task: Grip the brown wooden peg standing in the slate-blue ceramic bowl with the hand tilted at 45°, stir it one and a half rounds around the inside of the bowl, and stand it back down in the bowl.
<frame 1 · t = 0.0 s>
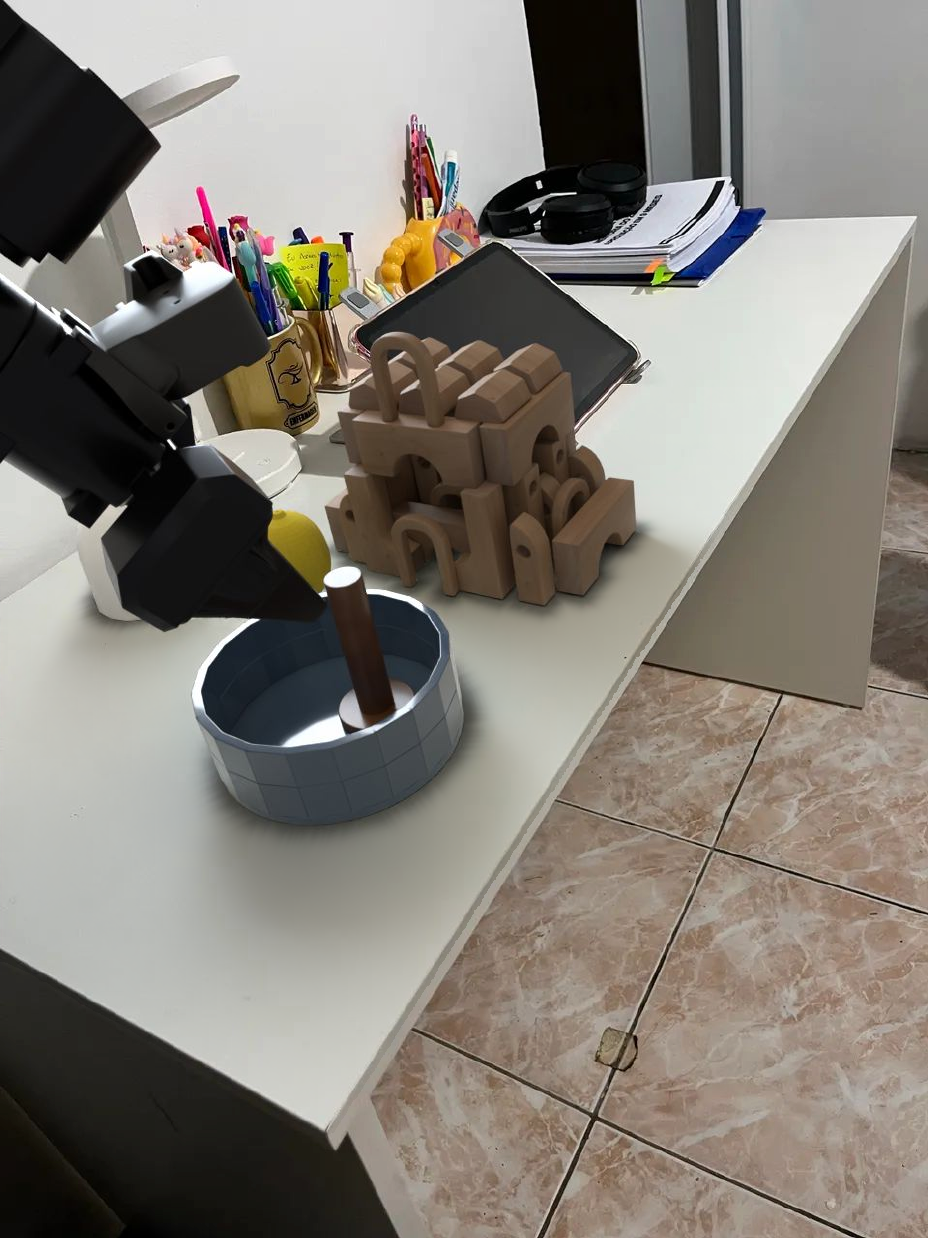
hand: (287, 570, 46), 15 cm above the table, tool tilted 35°, fingers open, 9 cm apart
brown wooden peg: (378, 711, 59), point 1 cm above the table, touching bowl
lemon: (306, 605, 71), on the table
teardrop: (163, 582, 77), on the table
bowl: (342, 731, 59), on the table
wooden puzzle: (480, 544, 75), on the table
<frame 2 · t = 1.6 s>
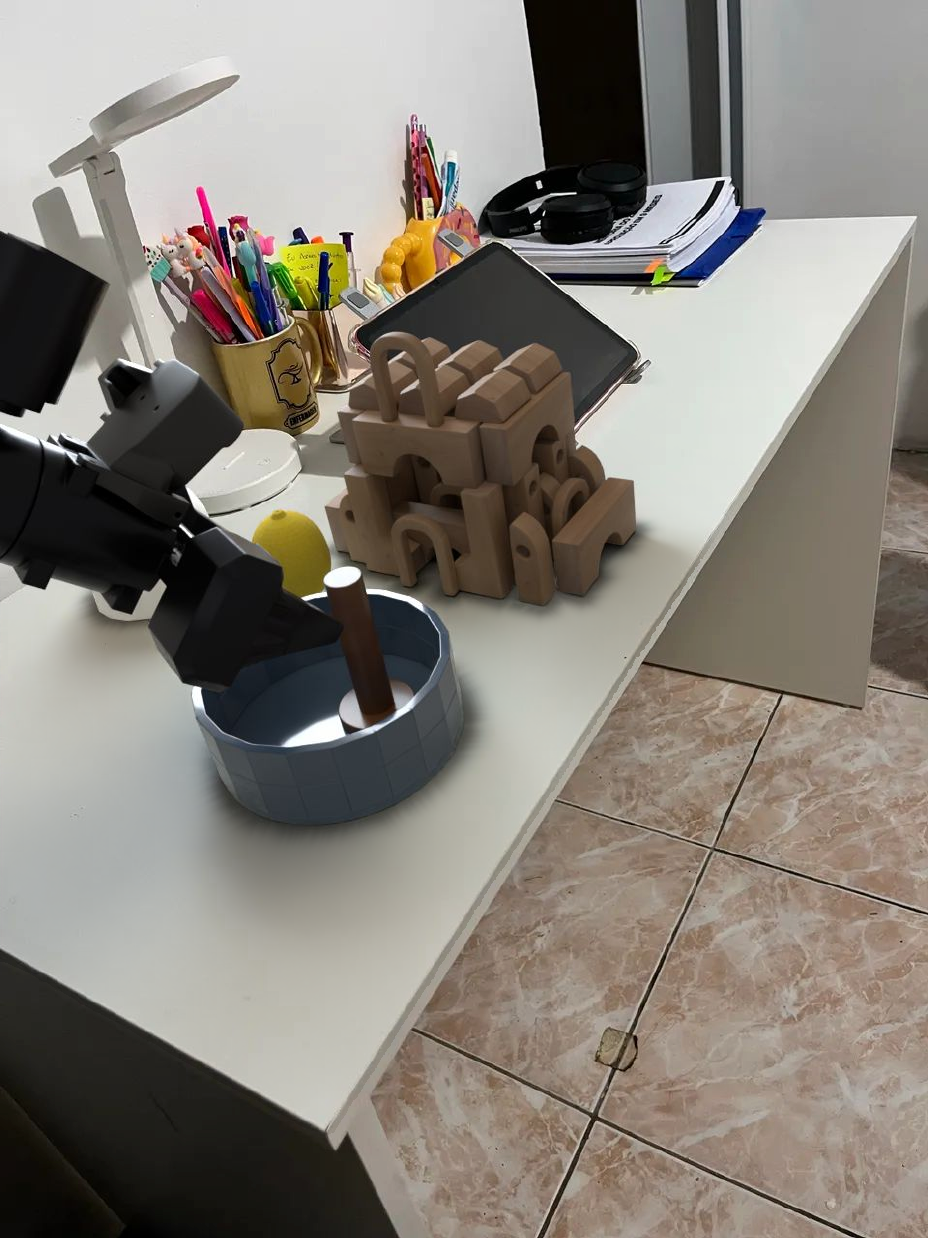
hand: (300, 597, 52), 11 cm above the table, tool tilted 45°, fingers open, 9 cm apart
nothing on the table moved.
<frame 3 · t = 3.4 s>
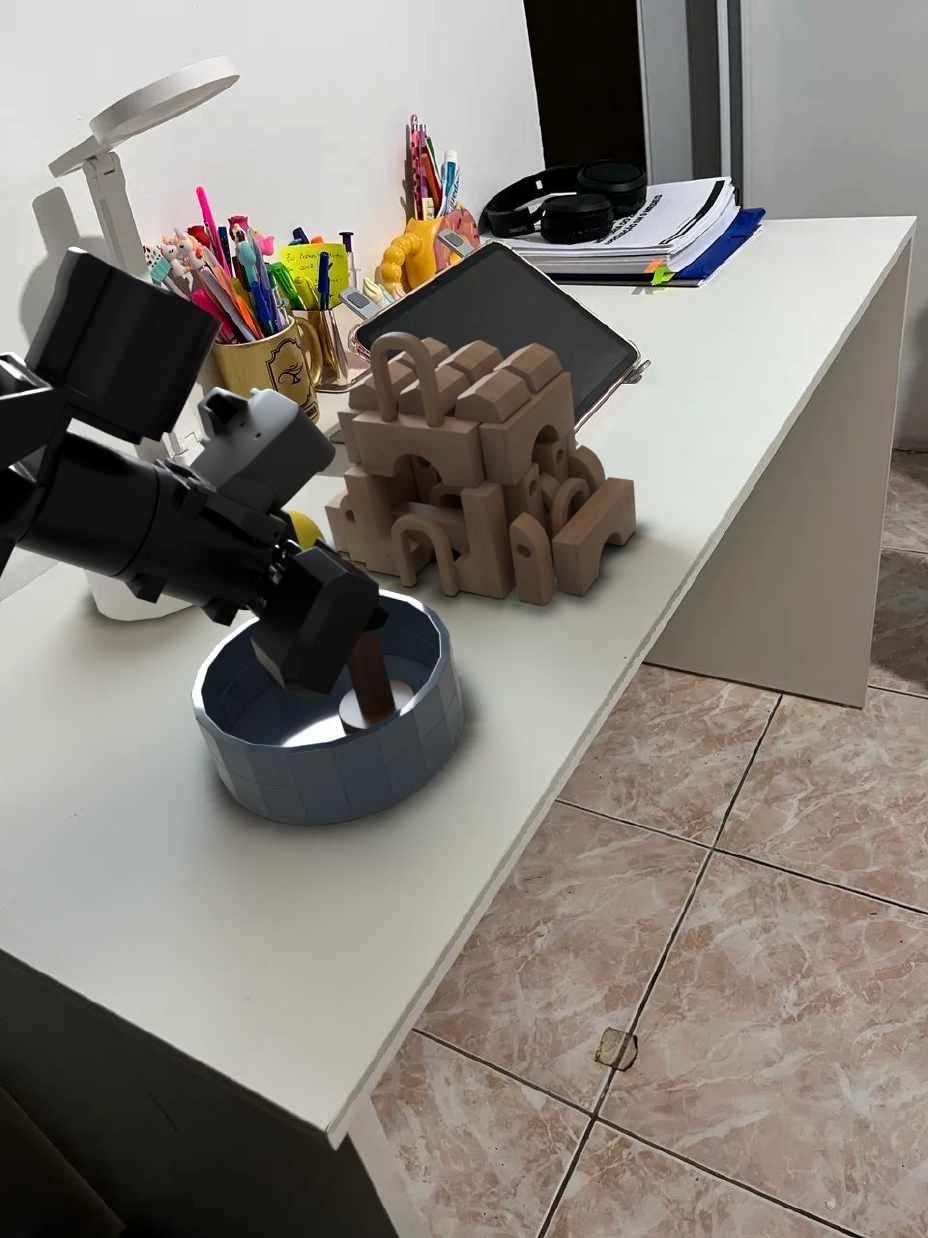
hand: (374, 610, 55), 8 cm above the table, tool tilted 45°, fingers closed on brown wooden peg, 2 cm apart
brown wooden peg: (378, 711, 59), point 1 cm above the table, touching bowl, gripper
everything else where it was.
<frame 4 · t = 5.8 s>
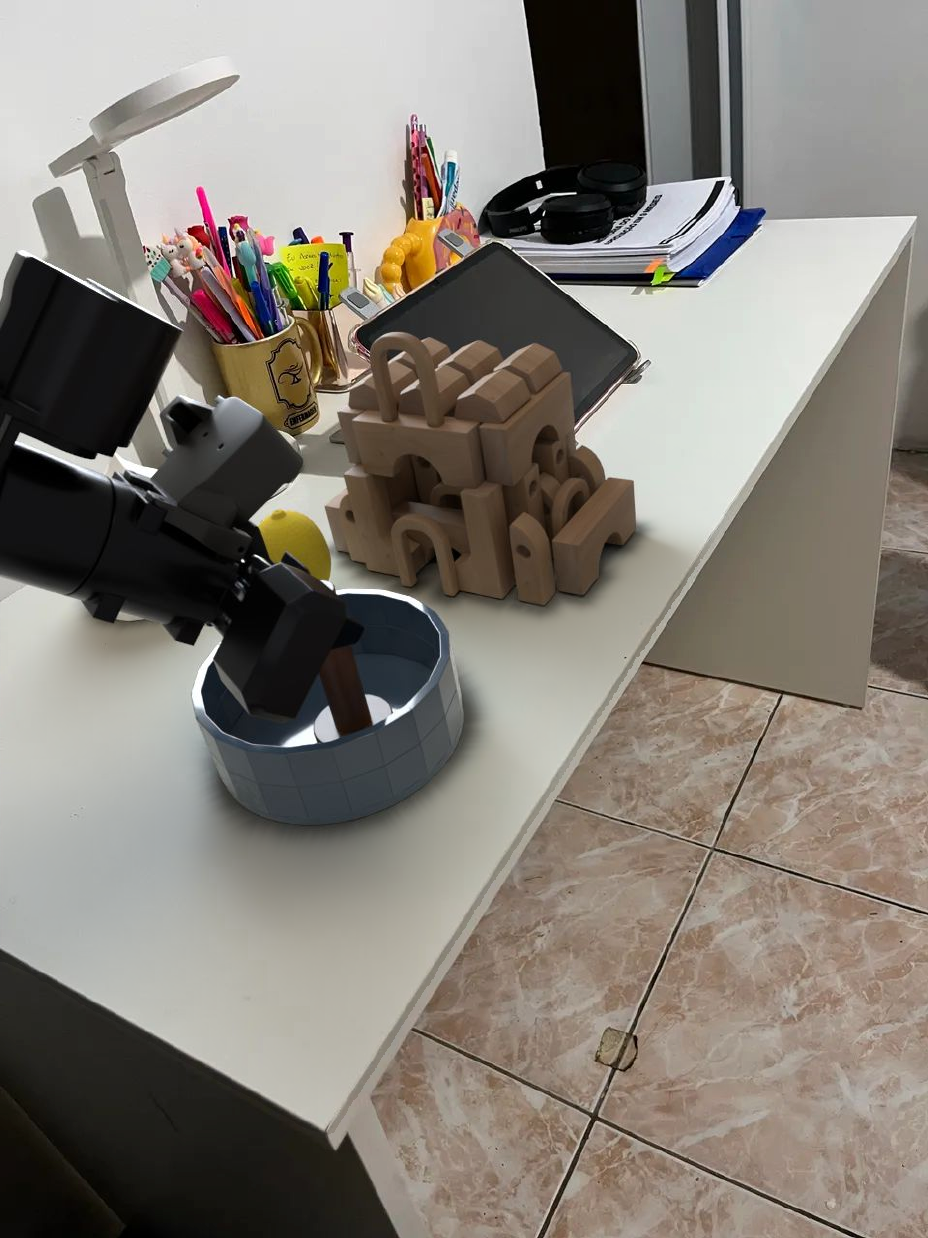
hand: (349, 625, 53), 8 cm above the table, tool tilted 45°, fingers closed on brown wooden peg, 2 cm apart
brown wooden peg: (355, 728, 57), point 1 cm above the table, touching gripper
everything else where it was.
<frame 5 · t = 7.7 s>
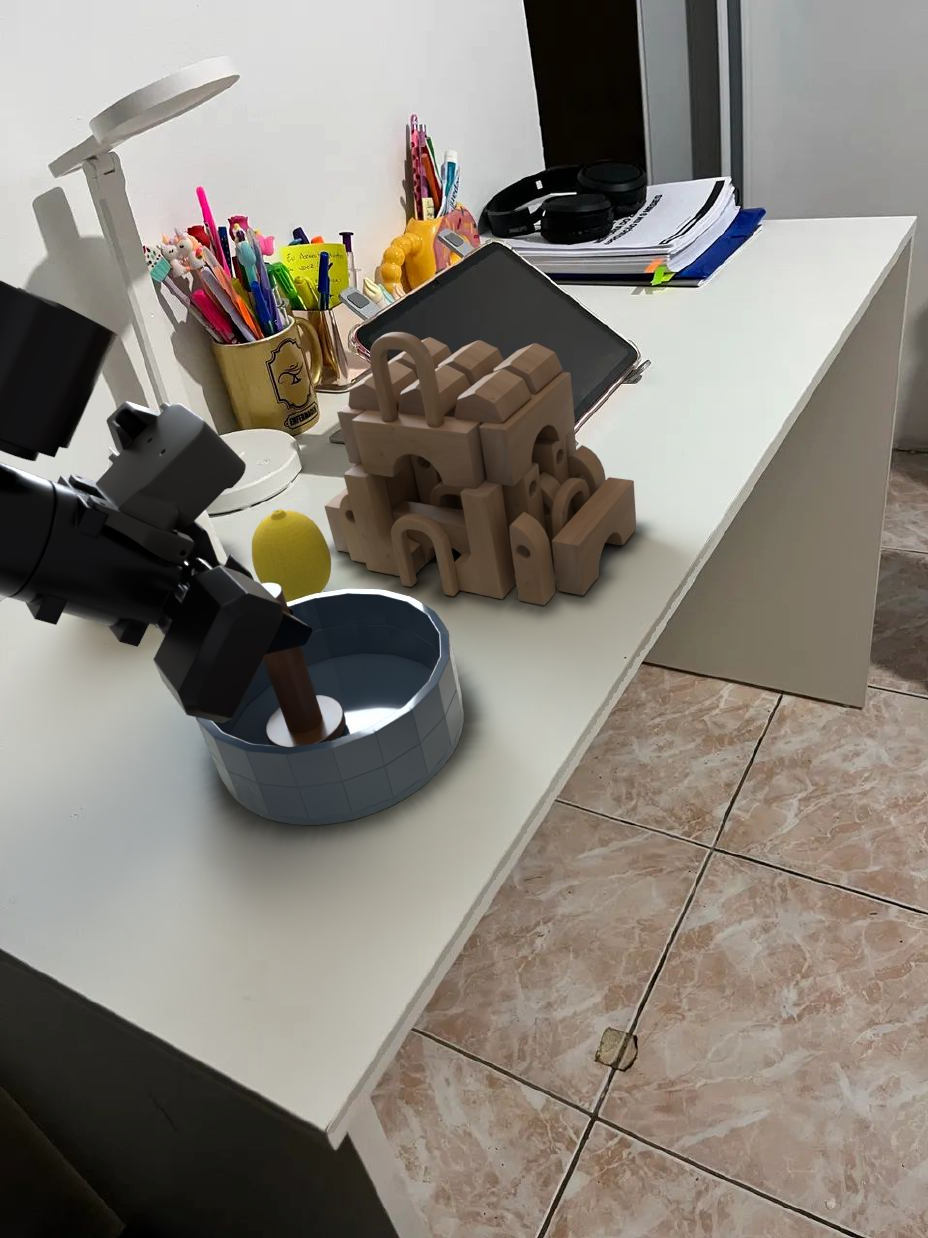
hand: (298, 627, 54), 8 cm above the table, tool tilted 45°, fingers closed on brown wooden peg, 2 cm apart
brown wooden peg: (307, 728, 58), point 1 cm above the table, touching gripper
everything else where it was.
when the fingers open (8 cm above the table, at t = 8.6 s): brown wooden peg stays where it is, resting on bowl.
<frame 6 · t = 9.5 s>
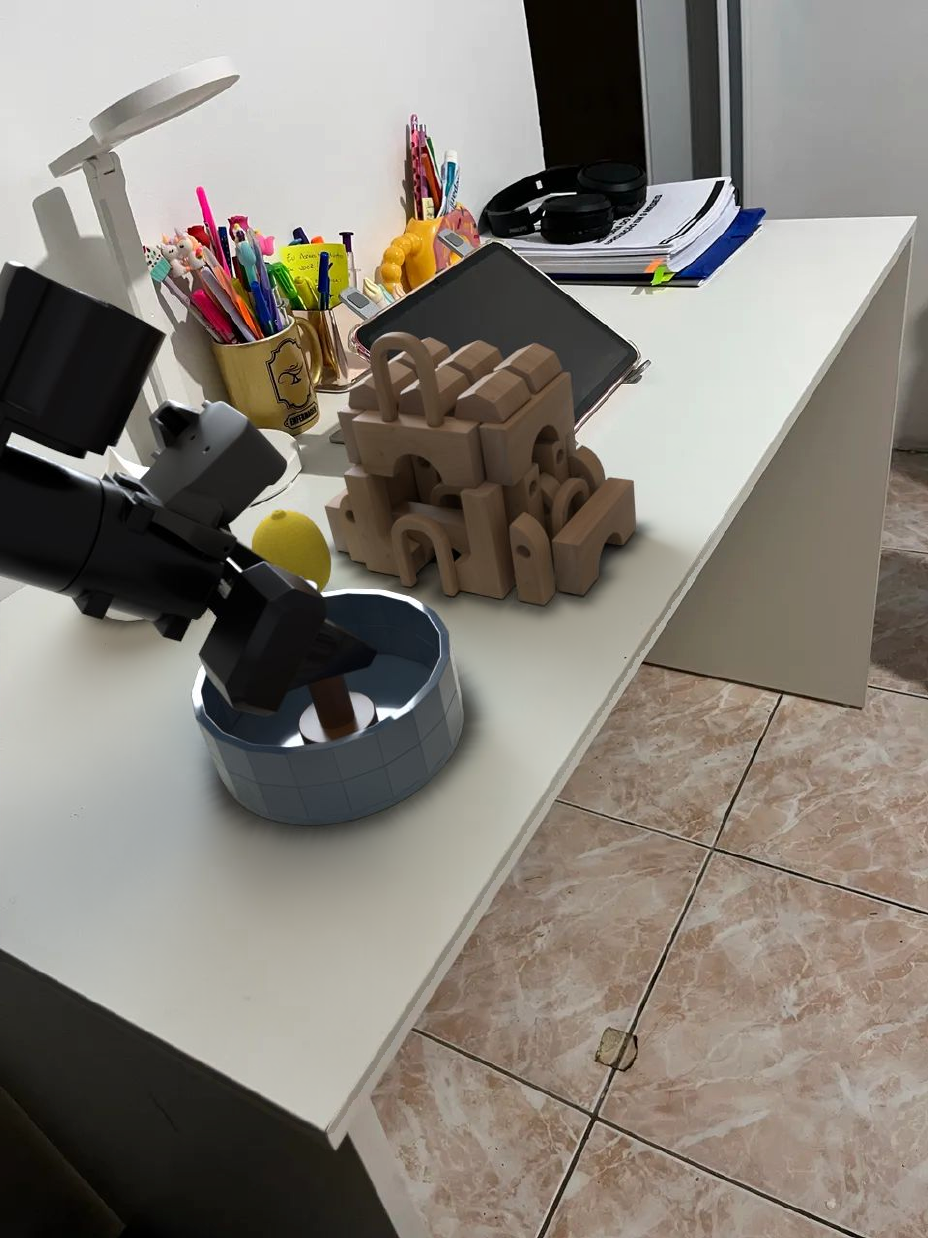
hand: (334, 622, 55), 8 cm above the table, tool tilted 45°, fingers open, 9 cm apart
brown wooden peg: (339, 724, 58), point 1 cm above the table, touching bowl
everything else where it was.
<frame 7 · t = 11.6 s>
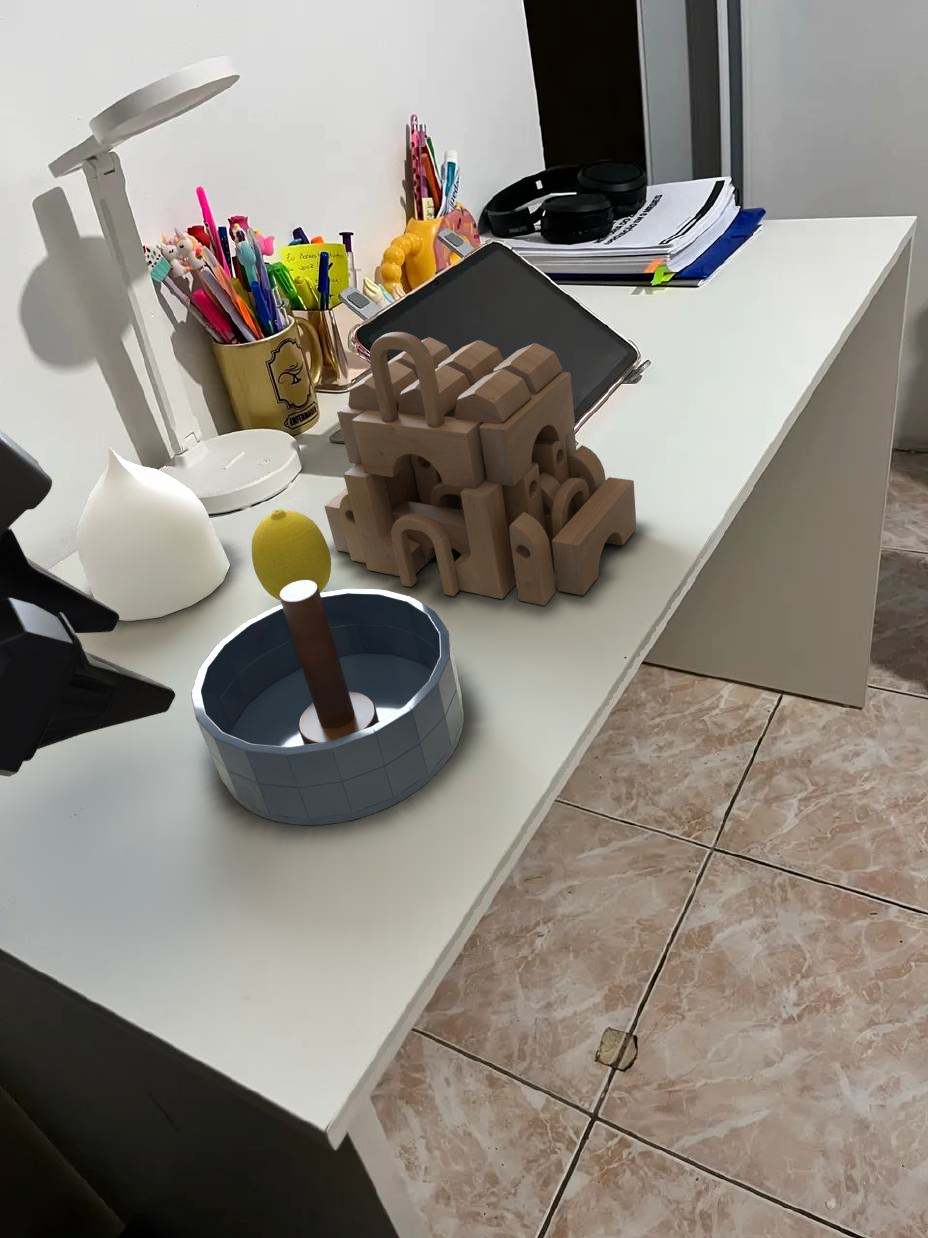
hand: (141, 659, 49), 11 cm above the table, tool tilted 45°, fingers open, 9 cm apart
nothing on the table moved.
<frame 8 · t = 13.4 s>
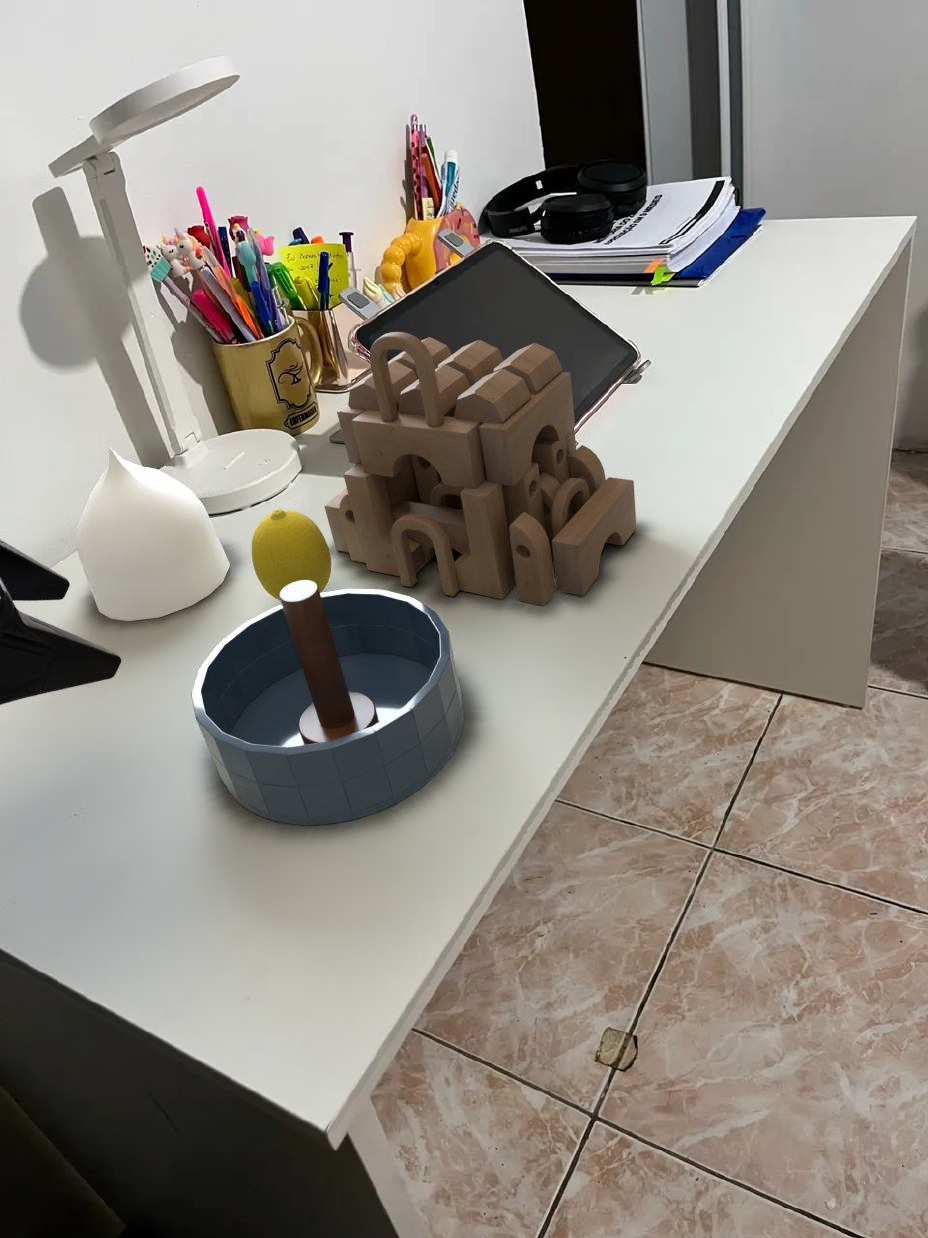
hand: (90, 625, 47), 14 cm above the table, tool tilted 45°, fingers open, 9 cm apart
nothing on the table moved.
at the end: brown wooden peg inside the target area in the bowl (0.0 cm from its centre), point 0.6 cm above the bowl's base; brown wooden peg tilted 0°; the gripper is holding nothing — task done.
